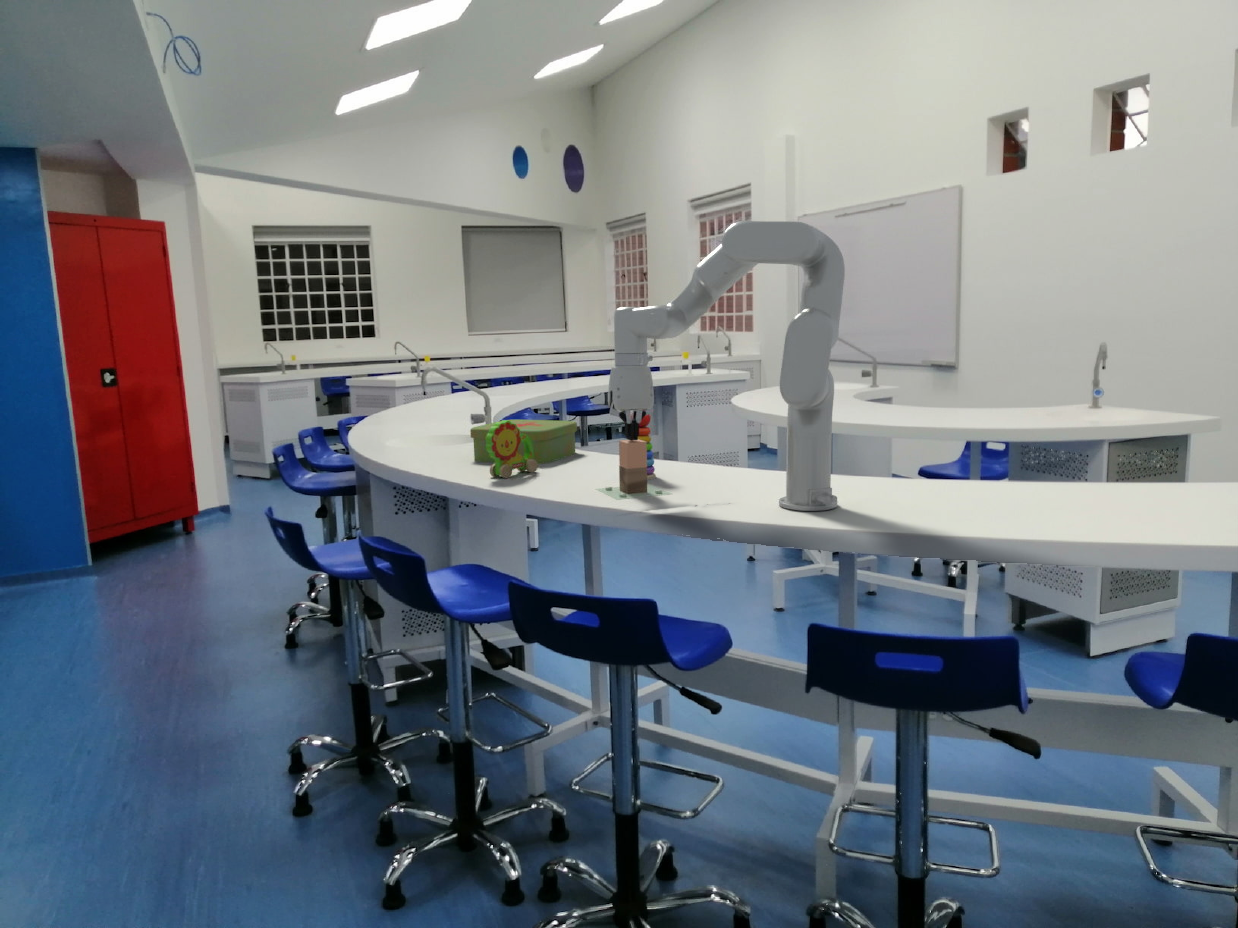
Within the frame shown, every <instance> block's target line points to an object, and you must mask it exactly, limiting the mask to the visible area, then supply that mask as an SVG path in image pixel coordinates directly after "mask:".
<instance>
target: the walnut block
mask: <svg viewBox="0 0 1238 928" xmlns="http://www.w3.org/2000/svg"><path fill="white" fill-rule="evenodd" d="M618 467H619V468H618V470H619V471H618V472H619V473H618V474H619V476H618V477H619V487H620V491H622V492H624V493H626V494H635V493H645V492H647V484H648V479H647V467H644V468H632V469H626V468H624V467H621V466H620V465H618Z"/></svg>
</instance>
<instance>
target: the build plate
mask: <svg viewBox="0 0 1238 928" xmlns="http://www.w3.org/2000/svg"><path fill="white" fill-rule="evenodd" d="M595 490H596V491H598V492H600V493H603V494H605V495H607V497H611V498H612V499H614V500H616V501H617V500H626V499H629V500H630V499H637V498H648V497H649V498H650V497H655V496H656V497H658V496H668V495H673V493H671V492H669V491H667V490H664V489H662V488H660V487H658V486H655V485H652V484H649V483H647V492H645V493H635V494H626V493H624V492H622V491H620V486H605V487H602V488H596V489H595Z"/></svg>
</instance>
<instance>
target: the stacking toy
mask: <svg viewBox="0 0 1238 928" xmlns="http://www.w3.org/2000/svg"><path fill="white" fill-rule="evenodd" d="M632 415H633V412H631V419H632ZM651 420H652V418H651V414H648V415H645V416H644V417H643V419H642V420H641V422H640V423H639V436H638V439H639V440H642V441H646V442H647V480H652V479H656V477H657V475H656V473H655V469H656V468H655V466H654V464H655V459H654V458H653V456H654V453H653V451H652V449H653V444H652V443H651V442H652V441H651V440H652V437H651V436H650V433H651V428H650V427H648V425H649V424H650V423H651Z"/></svg>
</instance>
